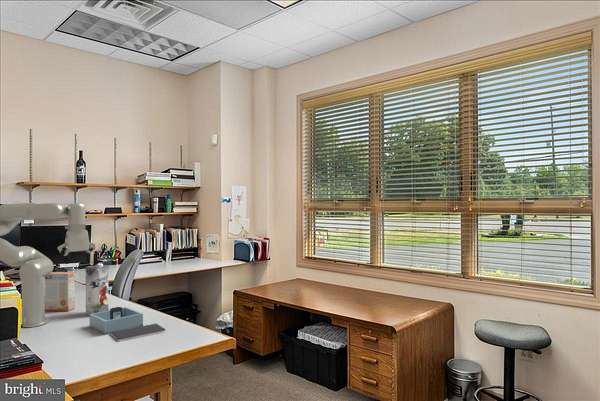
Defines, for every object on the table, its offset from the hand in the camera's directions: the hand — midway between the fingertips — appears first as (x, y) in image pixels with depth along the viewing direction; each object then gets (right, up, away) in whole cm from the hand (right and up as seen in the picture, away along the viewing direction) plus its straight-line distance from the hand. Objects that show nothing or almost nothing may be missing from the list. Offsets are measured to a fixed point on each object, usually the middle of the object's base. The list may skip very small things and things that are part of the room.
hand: (77, 262), depth 207 cm
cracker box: (-23, -30, +25) cm, 46 cm away
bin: (+21, -30, -4) cm, 37 cm away
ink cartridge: (+21, -30, -5) cm, 37 cm away
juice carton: (+1, -30, +18) cm, 35 cm away
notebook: (+36, -31, -15) cm, 50 cm away
